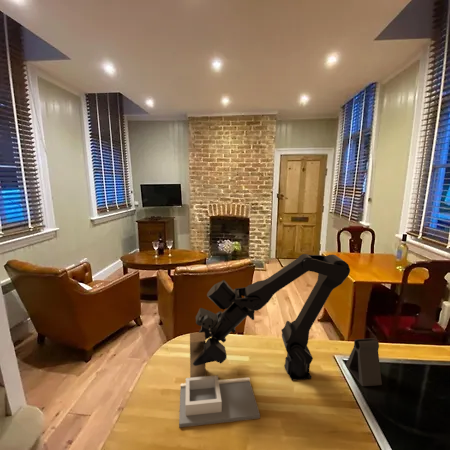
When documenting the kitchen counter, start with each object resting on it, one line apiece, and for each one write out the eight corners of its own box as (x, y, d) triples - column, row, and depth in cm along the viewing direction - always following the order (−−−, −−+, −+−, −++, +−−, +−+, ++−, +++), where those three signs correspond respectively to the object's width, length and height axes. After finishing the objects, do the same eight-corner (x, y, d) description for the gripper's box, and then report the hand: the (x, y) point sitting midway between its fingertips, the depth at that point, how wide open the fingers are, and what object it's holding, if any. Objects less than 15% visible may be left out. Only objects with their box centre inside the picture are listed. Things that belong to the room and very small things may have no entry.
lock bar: (204, 368, 82) (204, 332, 80) (205, 378, 78) (205, 341, 76) (190, 369, 81) (189, 333, 79) (190, 380, 77) (190, 342, 75)
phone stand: (381, 385, 76) (386, 348, 74) (362, 387, 76) (366, 349, 74) (363, 364, 85) (366, 331, 83) (345, 365, 84) (349, 331, 82)
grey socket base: (248, 381, 77) (249, 369, 76) (259, 418, 65) (260, 404, 64) (180, 388, 74) (180, 375, 73) (179, 427, 62) (178, 413, 62)
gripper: (209, 288, 85) (175, 321, 86) (215, 318, 67) (172, 359, 67) (232, 309, 88) (199, 341, 88) (243, 343, 69) (202, 383, 70)
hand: (193, 354), depth 78 cm, fingers open, 9 cm apart
